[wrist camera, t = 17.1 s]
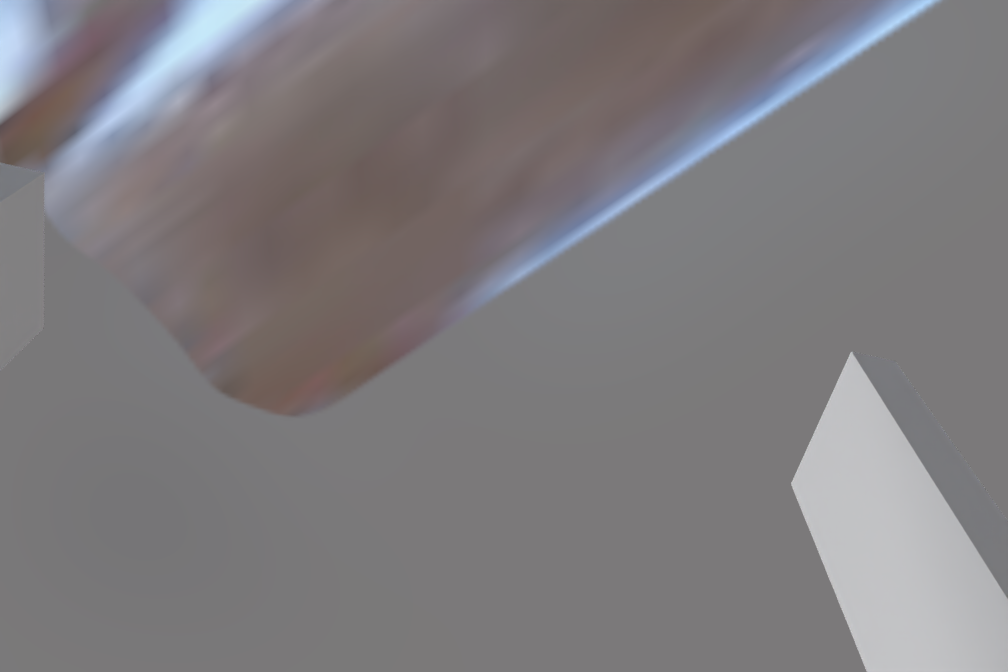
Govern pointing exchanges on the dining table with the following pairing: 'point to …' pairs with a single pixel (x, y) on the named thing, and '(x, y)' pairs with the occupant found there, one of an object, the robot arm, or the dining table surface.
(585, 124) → the dining table surface
